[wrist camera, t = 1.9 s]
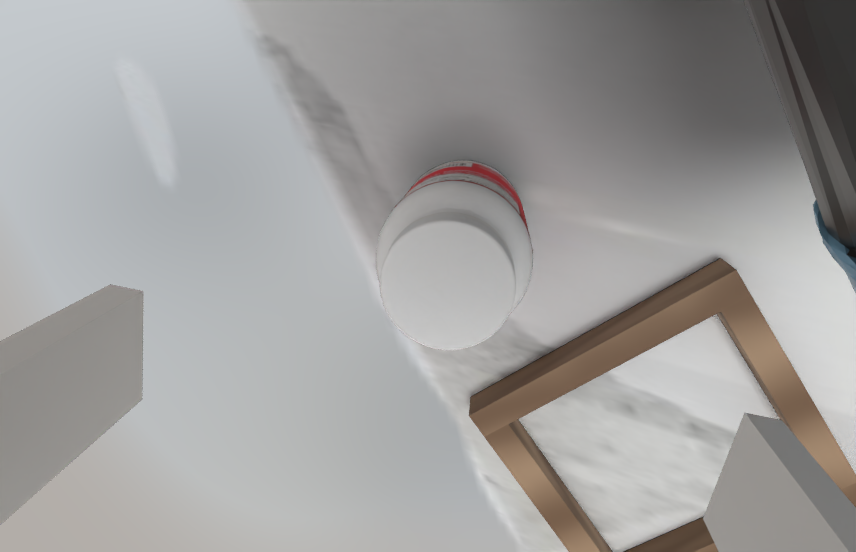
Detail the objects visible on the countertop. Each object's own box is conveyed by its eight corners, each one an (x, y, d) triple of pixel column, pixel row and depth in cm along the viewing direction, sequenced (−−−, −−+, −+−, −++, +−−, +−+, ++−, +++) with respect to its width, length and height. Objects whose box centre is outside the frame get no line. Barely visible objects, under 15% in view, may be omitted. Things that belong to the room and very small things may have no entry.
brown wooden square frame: (470, 397, 33) (469, 415, 32) (720, 258, 30) (736, 270, 28) (605, 582, 36) (611, 609, 34) (850, 478, 32) (872, 502, 31)
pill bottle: (478, 297, 32) (470, 402, 21) (382, 234, 31) (324, 310, 21) (548, 202, 30) (577, 265, 19) (447, 133, 29) (419, 160, 19)
